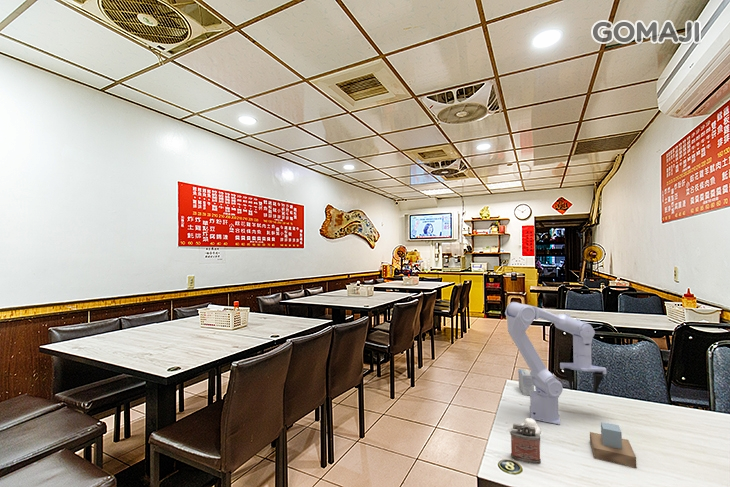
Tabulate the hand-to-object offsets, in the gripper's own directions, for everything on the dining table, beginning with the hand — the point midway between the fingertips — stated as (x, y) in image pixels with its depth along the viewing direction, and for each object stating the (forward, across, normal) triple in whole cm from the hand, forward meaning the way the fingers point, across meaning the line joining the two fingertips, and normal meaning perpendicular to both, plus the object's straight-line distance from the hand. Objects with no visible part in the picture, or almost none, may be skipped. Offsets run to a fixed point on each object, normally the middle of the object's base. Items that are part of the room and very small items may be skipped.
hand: (583, 390), depth 126 cm
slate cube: (+6, +4, -24) cm, 25 cm away
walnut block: (+9, +4, -24) cm, 26 cm away
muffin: (+10, -19, -26) cm, 33 cm away
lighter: (+10, -20, -38) cm, 44 cm away
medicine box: (+10, -19, +15) cm, 26 cm away
